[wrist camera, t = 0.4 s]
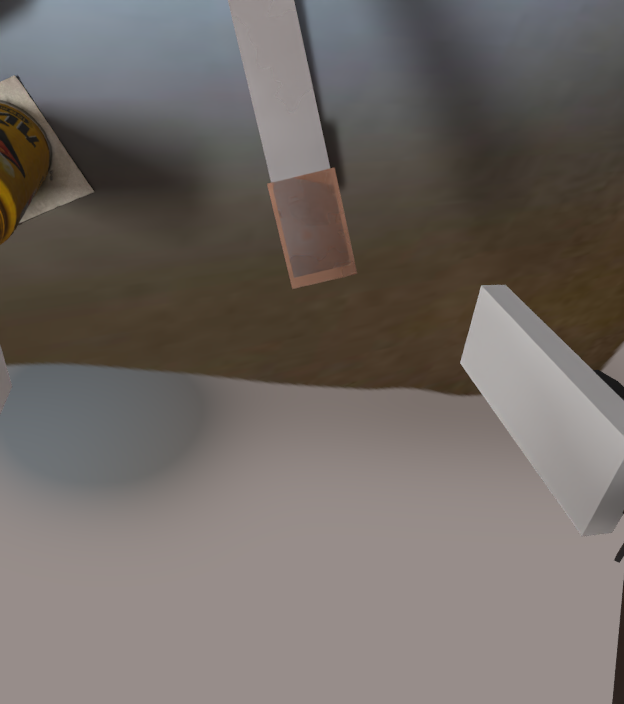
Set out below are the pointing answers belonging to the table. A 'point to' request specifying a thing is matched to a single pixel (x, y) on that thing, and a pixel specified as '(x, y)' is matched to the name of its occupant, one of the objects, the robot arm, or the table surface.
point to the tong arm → (293, 142)
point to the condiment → (31, 162)
